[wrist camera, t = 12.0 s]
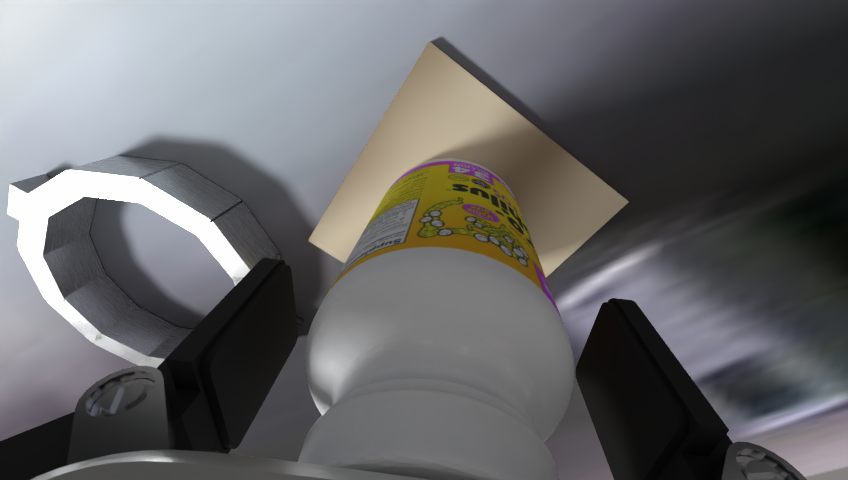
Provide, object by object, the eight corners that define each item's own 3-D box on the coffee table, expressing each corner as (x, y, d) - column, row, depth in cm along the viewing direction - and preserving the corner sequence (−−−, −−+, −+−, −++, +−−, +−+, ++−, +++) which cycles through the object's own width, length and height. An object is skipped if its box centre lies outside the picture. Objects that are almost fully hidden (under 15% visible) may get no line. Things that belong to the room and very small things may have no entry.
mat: (310, 237, 19) (307, 240, 18) (430, 41, 14) (429, 41, 13) (473, 338, 21) (474, 343, 20) (625, 198, 16) (629, 201, 16)
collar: (32, 266, 21) (-17, 289, 19) (56, 85, 16) (-8, 90, 14) (260, 382, 24) (240, 414, 22) (343, 263, 19) (328, 289, 17)
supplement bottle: (545, 235, 17) (721, 605, 5) (436, 299, 19) (400, 650, 8) (464, 120, 15) (472, 331, 3) (353, 207, 17) (137, 504, 6)
